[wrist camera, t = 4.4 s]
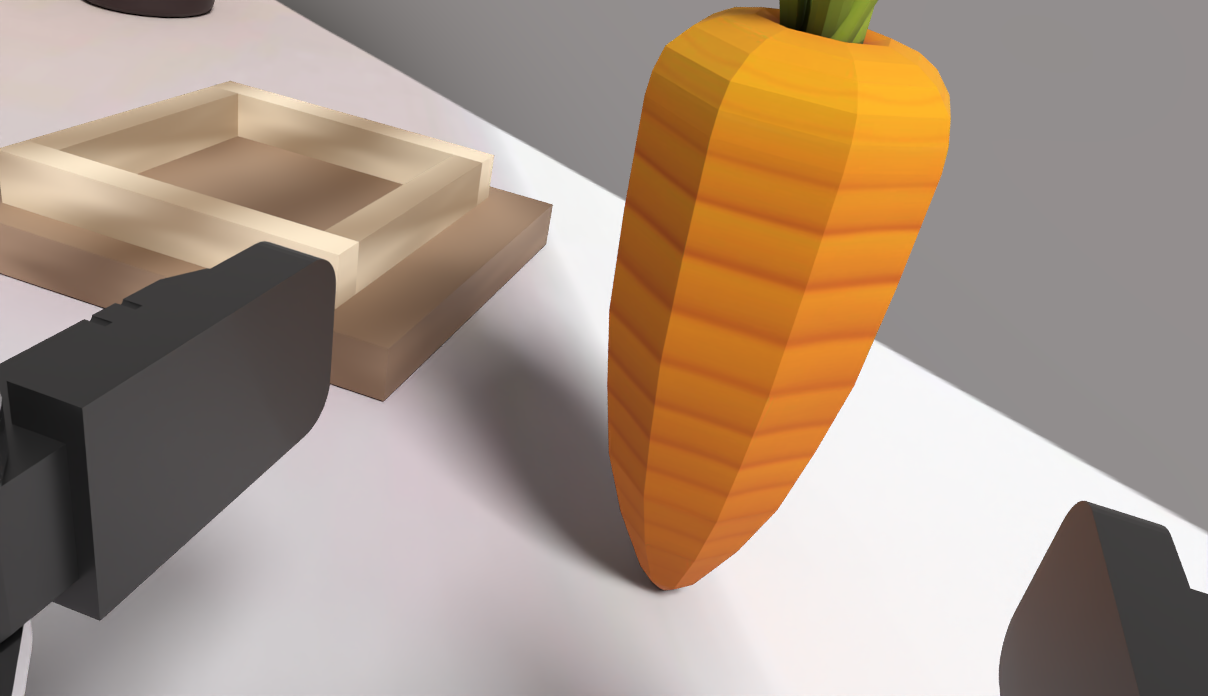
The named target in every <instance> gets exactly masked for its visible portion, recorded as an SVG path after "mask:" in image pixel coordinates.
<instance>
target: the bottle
mask: <svg viewBox="0 0 1208 696" xmlns="http://www.w3.org/2000/svg"><path fill="white" fill-rule="evenodd" d="M87 1H89V2H90V3H92V4H95V5H98V6H101V7H104V8H107V9H112V10H116V11H121V12H125V13H132V14H139V15H146V16H161V17H186V16H195V15H200V14H203V13H206V12H208V11H209V10H211V8H212V7H213V5H214V1H215V0H87Z"/></svg>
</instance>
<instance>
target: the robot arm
mask: <svg viewBox="0 0 1208 696" xmlns="http://www.w3.org/2000/svg"><path fill="white" fill-rule="evenodd" d="M335 295H336V276H335V271H334V268H333V266H332V264H331V263H330V262H329V261H327V260H325V259H322V258H319V257H315V256H312V255H309V254H306V253H303V252H300V251H296V250H293V249H290V248H287V247H284V246H281V245H277V244H274V243H271V242H267V241H262V242H259V243H256V244H254V245H252V246H251V247H249V248H247V249H245V250H243V251H241V252H240V253H238V254H236V255H234V256H232V257H231V258H229V259H227V260H225V261H223V262H221V263H220V264H218V265H216V266H214V267H212V268H211V269H209V268H206V269H202V270H197V271H193V272H189V273H185V274H181V275H176V276H172V277H168V278H164V279H160V280H158V281H156V282H154V283H152V284H150V285H148V286H146V287H145V288H143V289H141V290H139V291H137V292H135V293H133V294H131V295H129V296H127V297H126V298H124V299H123V301H122V303H121V305H120V304H117V303H114V304H112V305H110V306H109V307H107V308H105V309H103V310H101V311H99V312H97V313H95V314H93V315H92V318H91V320H90V321H88V320H85V319H84V320H82V321H80V322H78V323H76V324H74V325H73V326H71V327H69V328H67V329H65V330H63V331H61V332H59V333H57V334H56V335H54V336H52V337H50V338H48V339H46V340H44V341H42V342H40V343H38V344H37V345H35V346H33V347H31V348H29V349H27V350H25V351H23V352H21V353H20V354H18V355H16V356H14V357H12V358H10V359H8V360H6V361H4V362H2V363H1V364H0V696H24V695H25V689H26V682H27V676H28V670H29V663H30V657H31V651H32V643H33V634H32V626H31V618H32V617H34V616H35V615H36V614H37V613H39V612H40V611H41V610H42V609H43V608H45V607H46V606H47V605H48V604H49V603H51V602H55V603H57V604H60V605H62V606H65V607H67V608H70V609H72V610H75V611H77V612H80V613H82V614H84V615H87V616H89V617H92V618H94V619H97V620H99V621H100V620H101V619H103V618H104V617H105V616H106V615H107V614H108V613H109V612H110V611H111V610H113V609H114V608H115V607H116V606H117V605H118V604H119V603H120V602H121V601H123V600H124V599H125V598H126V597H127V596H128V595H129V594H130V593H131V592H133V591H134V590H135V589H136V588H137V587H138V586H139V585H140V584H141V583H143V582H144V581H145V580H146V579H147V578H148V577H149V576H150V575H151V574H152V573H154V572H155V571H156V570H157V569H158V568H159V567H160V566H161V565H162V564H164V563H165V562H166V561H167V560H168V559H169V558H170V557H171V556H172V555H174V554H175V553H176V552H177V551H178V550H179V549H180V548H181V547H182V546H184V545H185V544H186V543H187V542H188V541H189V540H190V539H191V538H192V537H193V536H195V535H196V534H197V533H198V532H199V531H200V530H201V529H202V528H203V527H205V526H206V525H207V524H208V523H209V522H210V521H211V520H212V519H213V518H215V517H216V516H217V515H218V514H219V513H220V512H221V511H222V510H223V509H225V508H226V507H227V506H228V505H229V504H230V503H231V502H232V501H233V500H235V499H236V498H237V497H238V496H239V495H240V494H241V493H242V492H243V491H244V490H246V489H247V488H248V487H249V486H250V485H251V484H252V483H253V482H254V481H256V480H257V479H258V478H259V477H260V476H261V475H262V474H263V473H264V472H266V471H267V470H268V469H269V468H270V467H271V466H272V465H273V464H274V463H276V462H277V461H278V460H279V459H280V458H281V457H282V456H283V455H284V454H286V453H287V452H288V451H289V450H290V449H291V448H292V447H293V446H294V445H295V444H297V443H298V442H299V441H300V440H301V439H302V438H303V437H304V436H305V435H306V434H307V433H308V432H309V431H310V430H311V429H312V427H313V426H314V424H315V423H316V421H317V420H318V418H319V416H320V414H321V412H322V410H323V407H324V405H325V402H326V399H327V395H328V391H329V386H330V376H331V360H332V344H333V328H334V311H335ZM999 686H1000V696H1208V594H1206V593H1203V592H1200V591H1196V590H1193V589H1190V586H1189V583H1188V581H1187V578H1186V575H1185V572H1184V570H1183V567H1182V564H1181V562H1180V559H1179V556H1178V553H1177V551H1176V548H1175V545H1174V542H1173V540H1172V537H1171V535H1170V533H1169V531H1168V529H1167V528H1166V527H1164V526H1163V525H1160V524H1157V523H1154V522H1150V521H1147V520H1144V519H1141V518H1138V517H1135V516H1131V515H1128V514H1125V513H1122V512H1119V511H1116V510H1112V509H1109V508H1106V507H1103V506H1100V505H1096V504H1093V503H1090V502H1087V501H1080V502H1078V503H1077V504H1075V505H1074V506H1073V507H1072V508H1071V510H1070V511H1069V512H1068V514H1067V515H1066V517H1065V519H1064V520H1063V522H1062V524H1061V526H1060V528H1059V530H1058V531H1057V533H1056V535H1055V537H1054V539H1053V541H1052V543H1051V545H1050V547H1049V548H1048V550H1047V552H1046V554H1045V556H1044V558H1043V560H1042V562H1041V564H1040V565H1039V567H1038V569H1037V571H1036V573H1035V575H1034V577H1033V579H1032V581H1031V582H1030V584H1029V586H1028V588H1027V590H1026V592H1025V594H1024V596H1023V598H1022V600H1021V601H1020V603H1019V605H1018V607H1017V609H1016V611H1015V613H1014V615H1013V617H1012V619H1011V621H1010V624H1009V626H1008V629H1007V632H1006V635H1005V639H1004V642H1003V647H1002V651H1001V657H1000V664H999Z"/></svg>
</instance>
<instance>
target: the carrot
mask: <svg viewBox="0 0 1208 696" xmlns="http://www.w3.org/2000/svg"><path fill="white" fill-rule="evenodd" d="M877 1H878V0H780V9H773V8H764V7H734V8H731V9H727V10H724V11H721V12H717V13H714V14H712V15H711V16H708V17H707V18H705V19H703V20H702V21H700V22H698V23H697V24H695V25H693V26H692V27H690V28H689V29H688V30H686V31H685V32H683V33H682V34H681V35H679V36H678V37H677V38H675V39H674V40H673V41H671V42H670V43H669V44H667V45H666V46H665V47H664V50H663V51H662V53H661V55H660V57H659V59H658V61H657V63H656V65H655V67H654V69H653V71H652V74H651V77H650V80H649V83H648V86H647V90H646V93H645V97H644V103H643V109H642V114H641V119H640V124H639V130H638V136H637V141H636V147H635V153H634V158H633V163H632V169H631V174H630V180H629V186H628V191H627V197H626V202H625V208H624V214H623V221H622V228H621V235H620V242H619V248H618V255H617V262H616V269H615V275H614V282H613V289H612V296H611V303H610V309H609V343H608V380H607V391H608V438H609V456H610V461H611V466H612V471H613V476H614V481H615V486H616V491H617V496H618V501H619V506H620V511H621V514H622V517H623V519H624V522H625V525H626V528H627V530H628V533H629V536H630V539H631V541H632V544H633V547H634V550H635V553H636V555H637V558H638V561H639V564H640V566H641V567H642V569H643V570H644V572H645V573H646V574H647V576H648V577H649V579H650V580H651V581H652V582H653V583H654V584H655V585H656V586H658V587H659V588H660V589H662V590H665V591H666V590H672V589H677V588H681V587H685V586H689V585H693V584H695V583H696V582H697V581H699V580H700V579H701V578H703V577H704V576H705V575H707V574H708V573H709V572H711V571H712V570H713V569H715V568H716V567H717V566H719V565H720V564H721V563H723V562H724V561H725V560H727V559H728V558H729V557H731V556H732V555H733V554H735V553H736V552H737V551H738V550H739V549H740V548H741V547H742V546H743V545H744V544H745V543H746V542H747V541H748V540H749V539H750V538H751V537H752V536H753V535H754V534H755V533H756V532H757V531H758V529H759V528H760V527H761V526H762V525H763V524H764V523H765V522H766V521H767V520H768V519H769V518H770V517H771V516H772V515H773V514H774V513H775V512H776V511H777V510H778V508H779V507H780V505H781V504H782V502H783V501H784V499H785V498H786V496H787V494H788V493H789V491H790V490H791V488H792V487H793V485H794V484H795V482H796V481H797V479H798V478H799V476H800V475H801V473H802V472H803V470H804V468H805V467H806V465H807V464H808V462H809V461H810V459H811V458H812V456H813V455H814V453H815V452H816V450H817V448H818V447H819V445H820V443H821V441H822V440H823V438H824V436H825V435H826V433H827V431H828V429H829V428H830V426H831V424H832V423H833V421H834V419H835V418H836V416H837V414H838V412H839V411H840V409H841V407H842V406H843V404H844V402H845V400H846V399H847V397H848V395H849V394H850V392H851V390H852V388H853V387H854V385H855V382H856V380H857V378H858V376H859V373H860V371H861V369H862V366H863V364H864V362H865V359H866V357H867V355H868V352H869V350H870V348H871V346H872V343H873V341H874V339H875V336H876V334H877V332H878V329H879V327H880V325H881V323H882V320H883V318H884V316H885V313H886V311H887V309H888V306H889V304H890V302H891V299H892V297H893V295H894V293H895V290H896V288H897V285H898V283H899V280H900V278H901V275H902V273H903V270H904V268H905V265H906V263H907V260H908V258H909V255H910V253H911V250H912V248H913V245H914V243H915V240H916V238H917V235H918V232H919V230H920V228H921V225H922V222H923V220H924V217H925V215H926V212H927V210H928V207H929V205H930V202H931V200H932V197H933V195H934V192H935V190H936V187H937V185H938V182H939V180H940V177H941V175H942V171H943V167H944V163H945V159H946V155H947V152H948V147H949V134H950V119H951V118H950V98H949V94H948V91H947V89H946V87H945V85H944V83H943V81H942V79H941V77H940V74H939V73H938V70H937V69H936V68H935V67H934V66H933V65H932V64H931V63H930V62H929V61H928V60H927V59H926V58H925V57H924V56H923V55H922V54H920V53H919V52H917V51H915V50H913V49H911V48H909V47H907V46H905V45H903V44H901V43H899V42H897V41H895V40H893V39H891V38H888V37H886V36H884V35H881V34H879V33H876V32H873V31H871V30H868V26H869V22H870V19H871V15H872V12H873V9H874V6H875V4H876V3H877Z"/></svg>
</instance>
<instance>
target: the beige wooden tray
mask: <svg viewBox="0 0 1208 696" xmlns="http://www.w3.org/2000/svg"><path fill="white" fill-rule="evenodd" d="M493 159H494V155H492V154H488V153H484V152H481V151H477V150H474V149H470V148H467V147H463V146H460V145H456V144H452V143H449V142H445V141H442V140H438V139H435V138H431V137H428V136H424V135H421V134H417V133H413V132H410V131H406V130H403V129H399V128H396V127H392V126H389V125H385V124H381V123H378V122H374V121H371V120H367V119H364V118H360V117H357V116H353V115H350V114H346V113H342V112H339V111H335V110H332V109H328V108H325V107H321V106H318V105H314V104H310V103H307V102H303V101H300V100H296V99H293V98H289V97H286V96H282V95H279V94H275V93H271V92H268V91H264V90H261V89H257V88H254V87H250V86H247V85H243V84H239V83H236V82H232V81H229V82H225V83H222V84H218V85H215V86H211V87H208V88H204V89H201V90H198V91H194V92H191V93H187V94H184V95H180V96H177V97H174V98H170V99H167V100H163V101H160V102H156V103H153V104H150V105H146V106H143V107H139V108H136V109H132V110H129V111H126V112H122V113H119V114H115V115H112V116H108V117H105V118H102V119H98V120H95V121H91V122H88V123H84V124H81V125H78V126H74V127H71V128H67V129H64V130H60V131H57V132H54V133H50V134H47V135H43V136H40V137H36V138H33V139H30V140H26V141H23V142H19V143H16V144H12V145H9V146H6V147H2V148H0V273H1V274H4V275H7V276H10V277H13V278H16V279H19V280H22V281H25V282H28V283H31V284H34V285H37V286H40V287H43V288H46V289H49V290H52V291H55V292H58V293H61V294H64V295H67V296H70V297H73V298H76V299H79V300H82V301H85V302H88V303H91V304H94V305H97V306H100V307H103V308H107V307H109V306H110V305H112V304H114V303H117V304H120V305H121V303H122V301H123V299H124V298H126V297H127V296H129V295H131V294H133V293H135V292H137V291H139V290H141V289H143V288H145V287H146V286H148V285H150V284H152V283H154V282H156V281H158V280H160V279H164V278H168V277H172V276H176V275H181V274H185V273H189V272H193V271H197V270H202V269H206V268H209V269H211V268H212V267H214V266H216V265H218V264H220V263H221V262H223V261H225V260H227V259H229V258H231V257H232V256H234V255H236V254H238V253H240V252H241V251H243V250H245V249H247V248H249V247H251V246H252V245H254V244H256V243H259V242H262V241H267V242H271V243H274V244H277V245H281V246H284V247H287V248H290V249H293V250H296V251H300V252H303V253H306V254H309V255H312V256H315V257H319V258H322V259H325V260H327V261H329V262H330V263H331V264H332V266H333V268H334V271H335V276H336V295H335V311H334V328H333V344H332V360H331V376H330V384H333V385H336V386H339V387H342V388H345V389H348V390H351V391H354V392H357V393H360V394H363V395H366V396H369V397H372V398H375V399H378V400H381V401H384V400H385V399H387V398H388V397H389V396H390V395H391V394H392V393H393V392H394V391H395V390H396V389H397V388H398V387H399V386H400V385H401V384H402V383H403V382H404V381H405V380H406V379H407V378H408V377H409V376H410V375H411V374H412V373H413V372H414V371H415V370H416V369H418V368H419V367H420V366H421V365H422V364H423V363H424V362H425V361H426V360H427V359H428V358H429V357H430V356H431V355H432V354H433V353H434V352H435V351H436V350H437V349H438V348H439V347H440V346H441V345H442V344H443V343H444V342H445V341H446V340H447V339H449V338H450V337H451V336H452V335H453V334H454V333H455V332H456V331H457V330H458V329H459V328H460V327H461V326H462V325H463V324H464V323H465V322H466V321H467V320H468V319H469V318H470V317H471V316H472V315H473V314H474V313H475V312H476V311H477V310H478V309H480V308H481V307H482V306H483V305H484V304H485V303H486V302H487V301H488V300H489V299H490V298H491V297H492V296H493V295H494V294H495V293H496V292H497V291H498V290H499V289H500V288H501V287H502V286H503V285H504V284H505V283H506V282H507V281H508V280H510V279H511V278H512V277H513V276H514V275H515V274H516V273H517V272H518V271H519V270H520V269H521V268H522V267H523V266H524V265H525V264H526V263H527V262H528V261H529V260H530V259H531V258H532V257H533V256H534V255H535V254H536V253H537V252H538V251H539V250H541V249H542V248H543V247H544V246H545V245H546V241H547V235H548V230H549V224H550V218H551V212H552V206H553V205H552V204H549V203H545V202H542V201H538V200H535V199H531V198H528V197H525V196H521V195H518V194H514V193H511V192H507V191H504V190H500V189H497V188H493V187H490V181H491V174H492V167H493Z"/></svg>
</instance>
